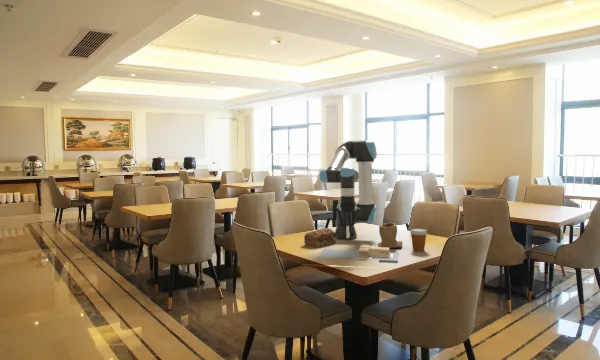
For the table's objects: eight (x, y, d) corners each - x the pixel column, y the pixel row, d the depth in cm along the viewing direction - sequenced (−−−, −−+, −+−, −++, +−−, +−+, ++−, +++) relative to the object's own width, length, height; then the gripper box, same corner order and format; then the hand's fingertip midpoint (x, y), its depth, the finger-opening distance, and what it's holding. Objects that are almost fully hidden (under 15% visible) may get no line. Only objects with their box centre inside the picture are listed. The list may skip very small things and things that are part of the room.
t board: (324, 250, 253) (324, 248, 253) (397, 253, 244) (397, 251, 244) (318, 259, 234) (318, 257, 234) (397, 262, 225) (397, 260, 225)
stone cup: (378, 249, 254) (378, 224, 253) (376, 245, 265) (376, 221, 264) (404, 250, 252) (405, 224, 251) (402, 245, 264) (402, 221, 263)
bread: (324, 242, 277) (324, 226, 276) (337, 244, 269) (337, 229, 268) (303, 247, 264) (303, 230, 264) (315, 249, 257) (315, 233, 256)
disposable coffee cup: (407, 248, 256) (407, 228, 255) (423, 248, 257) (423, 228, 256) (413, 252, 246) (413, 231, 246) (429, 251, 247) (429, 231, 246)
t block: (360, 251, 246) (360, 244, 246) (389, 252, 243) (389, 245, 243) (358, 258, 231) (358, 250, 231) (389, 259, 227) (389, 251, 227)
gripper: (334, 196, 236) (335, 238, 238) (358, 196, 233) (359, 239, 235) (336, 194, 243) (337, 235, 245) (360, 194, 240) (360, 236, 242)
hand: (348, 237), depth 240 cm, fingers closed
